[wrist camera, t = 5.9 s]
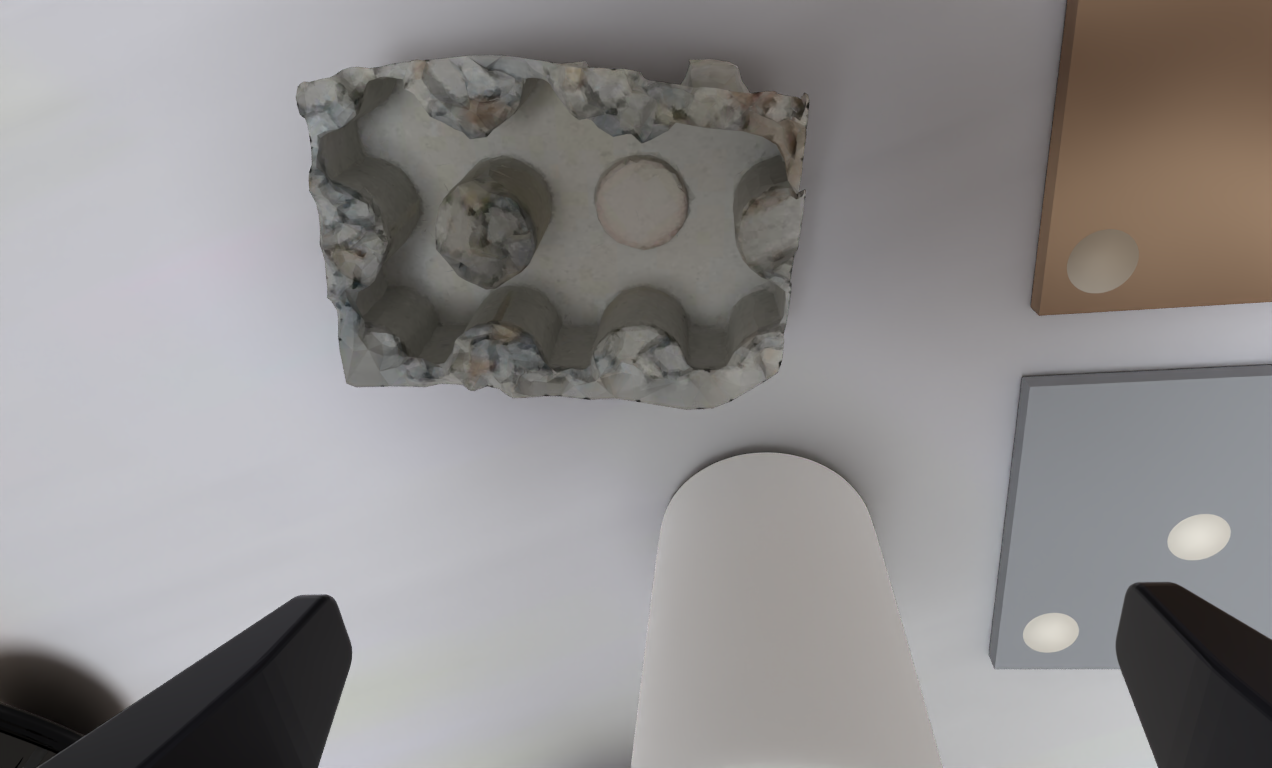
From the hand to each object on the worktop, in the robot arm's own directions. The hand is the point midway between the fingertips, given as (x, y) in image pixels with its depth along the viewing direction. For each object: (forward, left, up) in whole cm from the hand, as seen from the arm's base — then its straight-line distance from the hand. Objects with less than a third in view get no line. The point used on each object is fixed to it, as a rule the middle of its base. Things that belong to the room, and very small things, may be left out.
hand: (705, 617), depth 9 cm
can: (-9, -1, -13) cm, 16 cm away
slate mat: (-9, -13, -13) cm, 20 cm away
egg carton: (+5, +4, -14) cm, 15 cm away
